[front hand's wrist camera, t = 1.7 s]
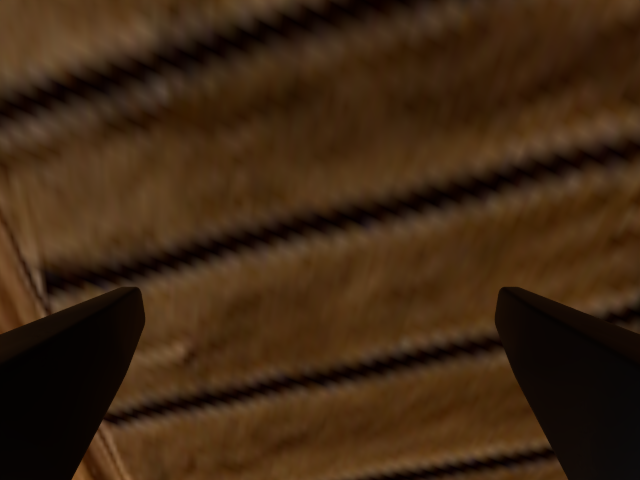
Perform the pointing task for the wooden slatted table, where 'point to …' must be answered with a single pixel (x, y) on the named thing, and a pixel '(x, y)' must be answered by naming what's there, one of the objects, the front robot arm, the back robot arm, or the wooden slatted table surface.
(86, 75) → the wooden slatted table surface
